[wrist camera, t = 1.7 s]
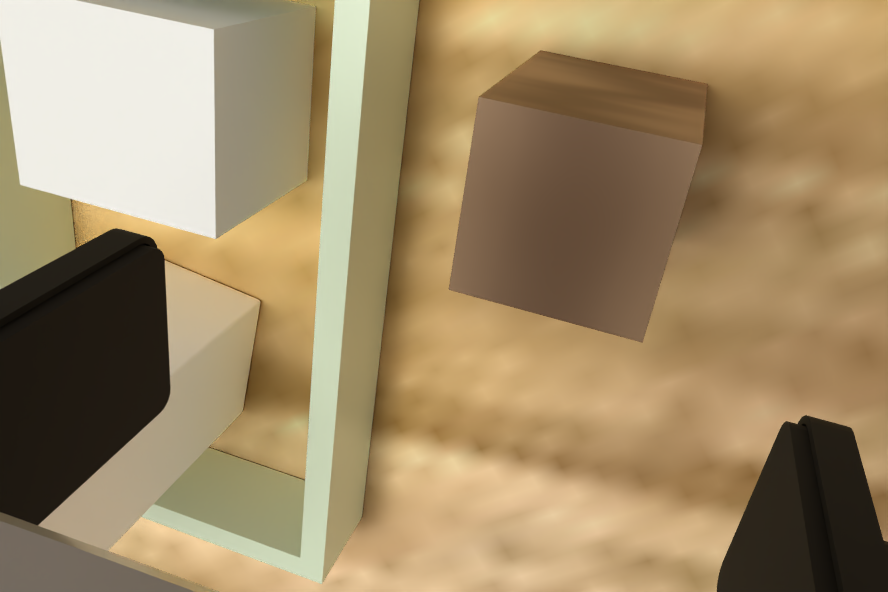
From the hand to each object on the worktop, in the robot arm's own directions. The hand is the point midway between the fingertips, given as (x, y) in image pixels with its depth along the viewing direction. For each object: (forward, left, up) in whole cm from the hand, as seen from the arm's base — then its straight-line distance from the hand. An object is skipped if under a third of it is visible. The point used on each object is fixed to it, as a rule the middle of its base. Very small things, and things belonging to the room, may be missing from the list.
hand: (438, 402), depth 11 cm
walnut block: (0, 0, -15) cm, 15 cm away
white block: (+13, +1, -15) cm, 20 cm away
